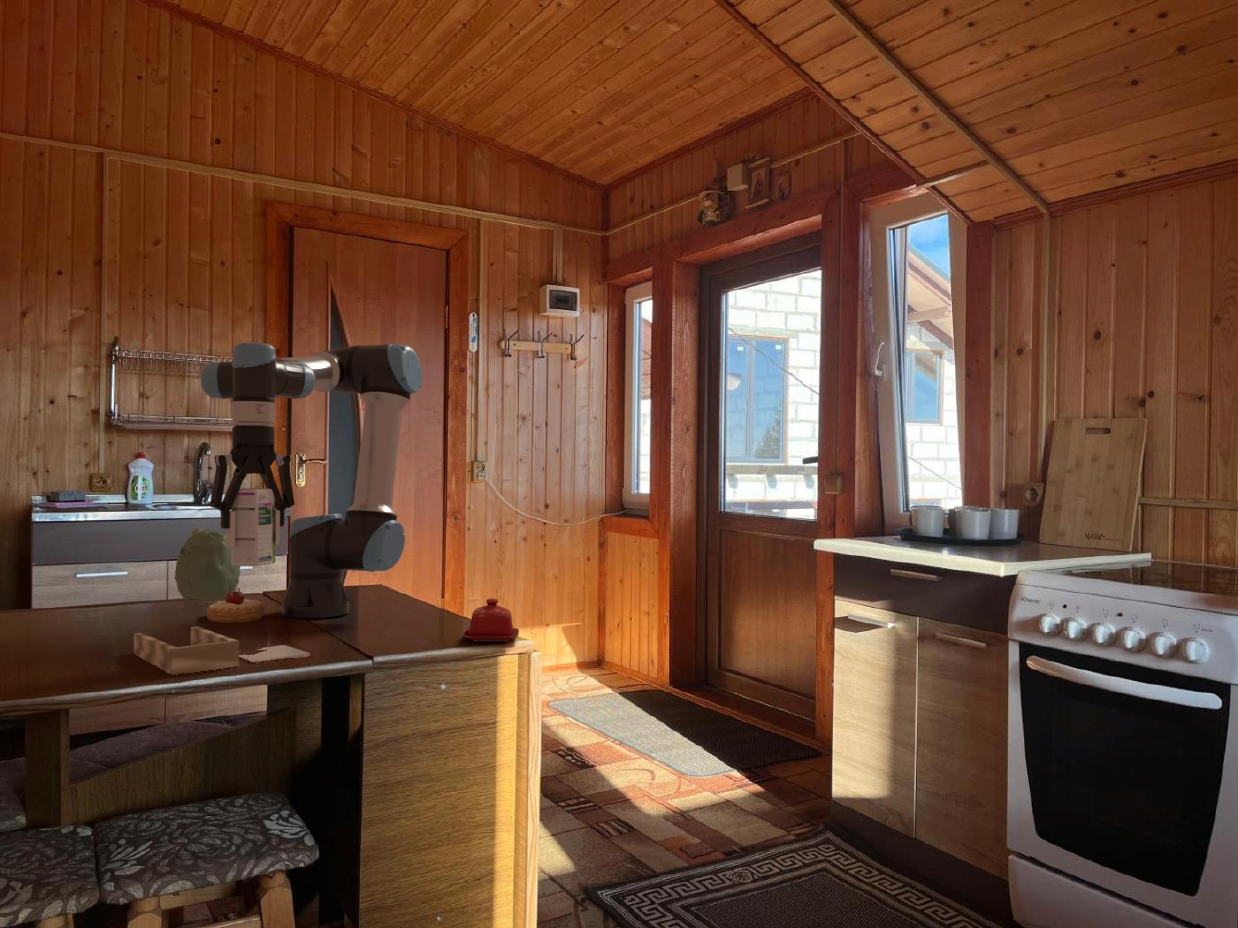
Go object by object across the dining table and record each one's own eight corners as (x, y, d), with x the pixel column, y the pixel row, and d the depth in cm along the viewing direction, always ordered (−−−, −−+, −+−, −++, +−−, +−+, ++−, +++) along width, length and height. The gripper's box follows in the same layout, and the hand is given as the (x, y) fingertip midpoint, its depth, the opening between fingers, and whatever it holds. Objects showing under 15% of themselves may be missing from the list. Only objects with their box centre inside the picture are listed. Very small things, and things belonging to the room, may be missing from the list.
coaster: (228, 656, 179) (228, 652, 179) (284, 648, 186) (284, 644, 186) (252, 665, 171) (252, 661, 171) (309, 657, 178) (309, 653, 178)
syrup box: (257, 566, 175) (258, 488, 175) (229, 565, 177) (230, 488, 177) (275, 563, 181) (276, 488, 181) (248, 562, 182) (249, 487, 182)
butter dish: (519, 633, 207) (519, 594, 207) (518, 643, 195) (518, 602, 195) (466, 633, 206) (466, 594, 206) (462, 643, 194) (462, 602, 194)
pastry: (249, 620, 220) (250, 582, 220) (273, 626, 212) (273, 587, 212) (197, 626, 212) (198, 586, 212) (220, 633, 203) (220, 592, 204)
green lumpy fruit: (184, 615, 226) (184, 532, 226) (165, 605, 241) (165, 527, 241) (251, 609, 236) (251, 529, 236) (228, 600, 251) (229, 525, 251)
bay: (133, 660, 175) (134, 633, 175) (197, 652, 183) (197, 626, 183) (172, 678, 160) (172, 649, 160) (239, 668, 168) (239, 640, 168)
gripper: (204, 422, 169) (203, 549, 169) (314, 426, 183) (313, 543, 183) (190, 423, 175) (189, 546, 175) (298, 427, 188) (297, 541, 188)
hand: (252, 544), depth 179 cm, fingers closed on syrup box, 8 cm apart
